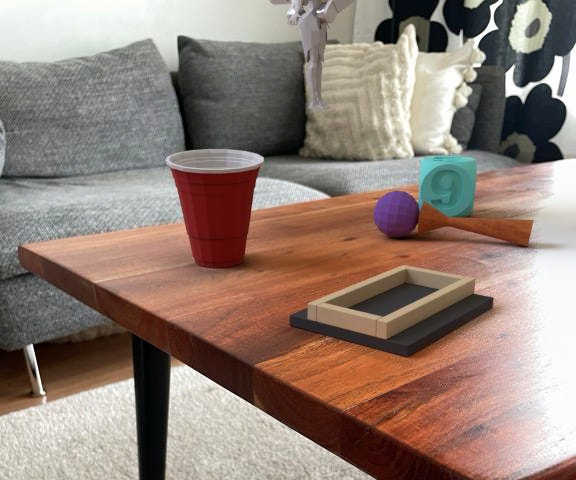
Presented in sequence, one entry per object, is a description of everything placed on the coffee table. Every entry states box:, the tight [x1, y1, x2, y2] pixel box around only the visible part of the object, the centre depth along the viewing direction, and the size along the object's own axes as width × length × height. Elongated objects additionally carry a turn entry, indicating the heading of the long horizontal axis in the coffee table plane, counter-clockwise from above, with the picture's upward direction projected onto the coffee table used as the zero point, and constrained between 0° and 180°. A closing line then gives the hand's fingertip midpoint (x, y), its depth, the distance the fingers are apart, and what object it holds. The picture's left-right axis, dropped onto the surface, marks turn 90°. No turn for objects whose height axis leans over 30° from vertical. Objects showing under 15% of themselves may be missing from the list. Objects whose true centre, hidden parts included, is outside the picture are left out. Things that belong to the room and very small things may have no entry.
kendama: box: [372, 189, 534, 248], centre depth 92 cm, size 6×6×20 cm
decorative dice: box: [417, 155, 478, 218], centre depth 108 cm, size 8×8×8 cm
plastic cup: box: [164, 148, 265, 268], centre depth 81 cm, size 11×11×12 cm
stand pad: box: [289, 264, 495, 358], centre depth 66 cm, size 12×16×2 cm
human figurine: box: [286, 0, 332, 110], centre depth 87 cm, size 12×4×18 cm, turn 158°
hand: (308, 20), depth 86 cm, fingers closed on human figurine, 3 cm apart
